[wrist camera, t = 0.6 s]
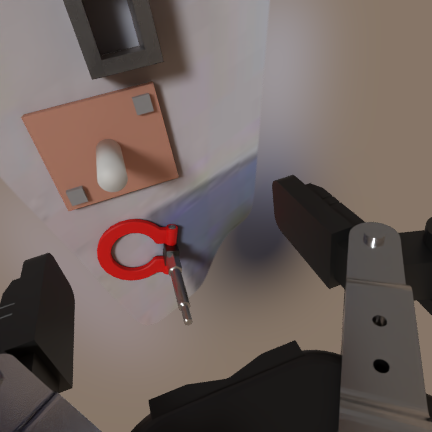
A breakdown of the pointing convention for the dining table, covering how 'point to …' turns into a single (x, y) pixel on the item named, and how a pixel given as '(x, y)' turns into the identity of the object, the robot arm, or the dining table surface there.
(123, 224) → the tow hook
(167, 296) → the dining table surface
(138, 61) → the grey hollow block
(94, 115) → the keeper plate
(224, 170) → the dining table surface
